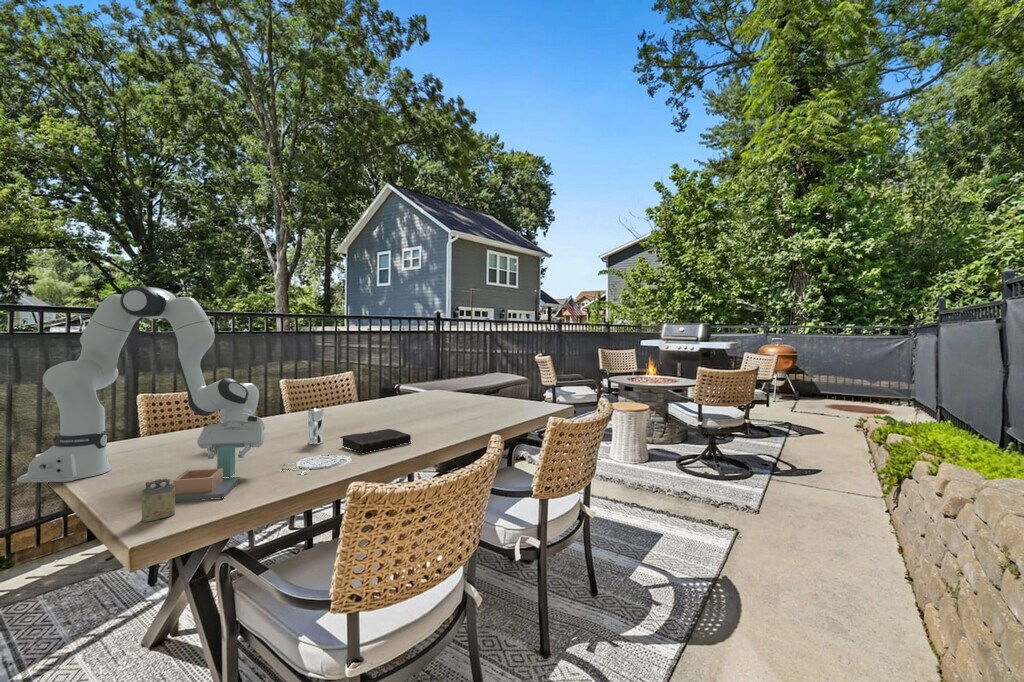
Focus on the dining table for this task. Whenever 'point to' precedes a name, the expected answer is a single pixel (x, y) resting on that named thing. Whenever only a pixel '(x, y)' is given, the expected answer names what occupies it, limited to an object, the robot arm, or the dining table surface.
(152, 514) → the green boxy piece
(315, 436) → the beer glass
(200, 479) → the holder
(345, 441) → the diary
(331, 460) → the pendant
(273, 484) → the dining table surface
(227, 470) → the peg
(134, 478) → the dining table surface
